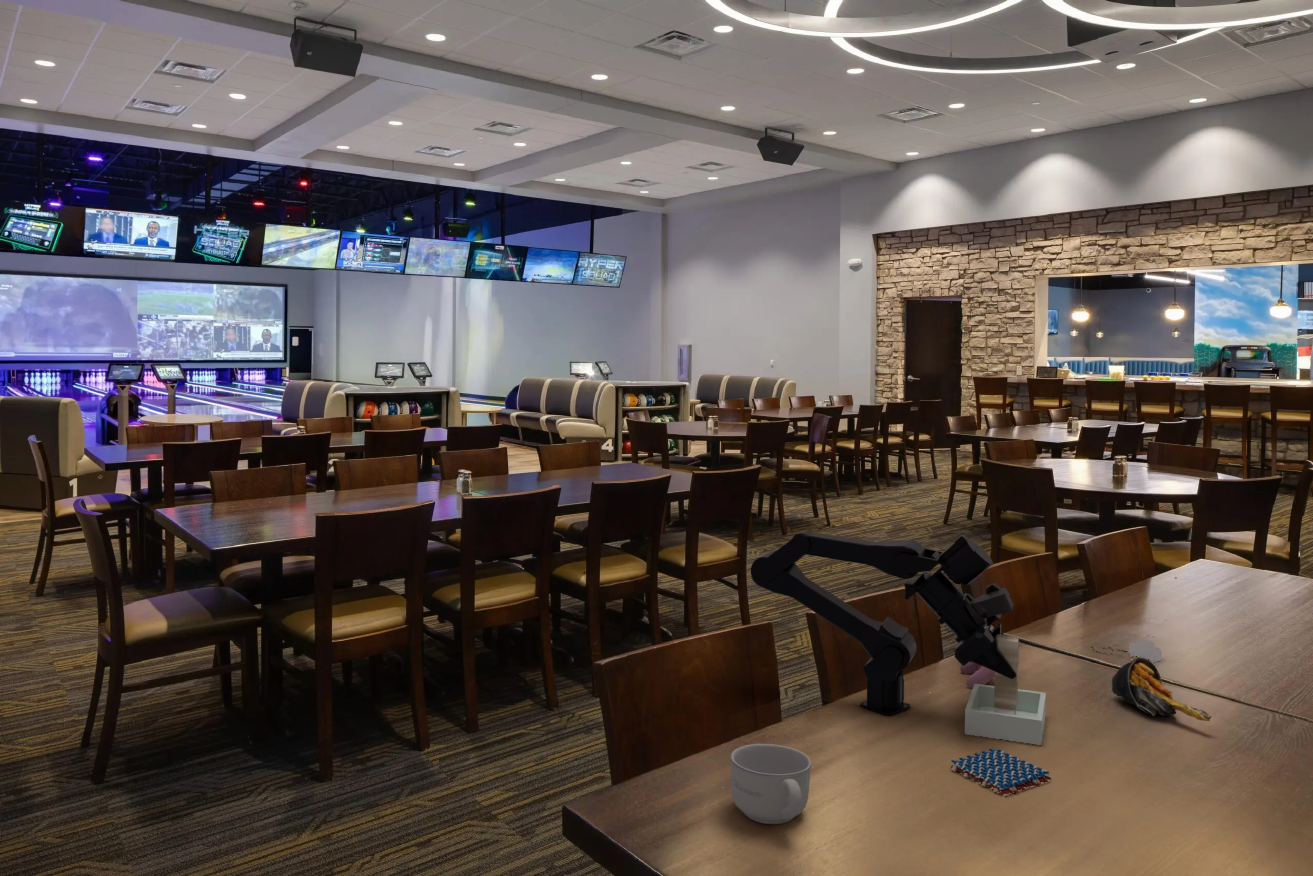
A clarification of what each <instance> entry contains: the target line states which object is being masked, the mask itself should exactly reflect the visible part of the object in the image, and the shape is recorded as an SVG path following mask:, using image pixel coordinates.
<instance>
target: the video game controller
mask: <svg viewBox="0 0 1313 876" xmlns="http://www.w3.org/2000/svg"><path fill="white" fill-rule="evenodd" d="M959 669H960V672H961V673H962V674H963V673H964V675H968V674H971V675H970V676H969V677H968V678H967V679H966V686H967V688H969V689H973V687H974V684H981V685H987V683H988V682H990V681H992V680H993V679H995V671H993V670H990V669H988V668H986V667H983V666H981V665H979V664H976V663H974V662H968V663H967V664H966V665H964V666H962V664H960V668H959Z"/></svg>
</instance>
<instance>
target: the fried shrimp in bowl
mask: <svg viewBox="0 0 1313 876" xmlns="http://www.w3.org/2000/svg"><path fill="white" fill-rule="evenodd" d="M1111 690H1112V691H1111V692H1112V693H1113V694H1115V696H1118V697H1121V698H1122V699H1123V700H1124V701H1125V702H1127V703H1129V704H1131V705H1133V706H1136V707H1137V708H1138V709H1140V710H1141V711H1143V712H1144V713H1146V714H1147V715H1150V716H1151V717H1155V716H1156V714H1157V715H1160V716H1166V717H1167V716H1172V715H1177V711H1179V712H1182V713H1183V714H1185V715H1187V716H1189V717H1192V718H1194V719H1196V720H1197V721H1203V722H1210V720H1211V718H1212V716H1211V715H1210V714H1209V713H1207V712H1206V711H1204V710H1203V709H1198V708H1195V707H1192V706H1190V705H1188V704H1186V703H1182V702H1179V701H1178V700H1174V699H1173V691H1171V690H1170V689H1168V688H1166V687H1165V686H1164V684H1163V681H1162V677H1161V675H1160V673H1159V670H1158V668H1157V667H1156V666H1155V664H1154V663H1153V662H1151V660H1148V659H1145V658H1141V657H1135V658H1134V659H1132V661H1130V662H1127V663H1126V664H1124V665H1122V666H1121V667H1120V668H1119V669H1118V670H1117V672H1116V673H1115V674H1114V675H1113V676H1112V678H1111Z"/></svg>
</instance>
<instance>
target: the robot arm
mask: <svg viewBox="0 0 1313 876" xmlns="http://www.w3.org/2000/svg"><path fill="white" fill-rule="evenodd" d="M805 555H806V556H813V557H819V558H820V557H821V558H824V559H825V558H826V559H830V560H831V559H832V560H836V561H843V562H848V563H855V564H860V565H867V566H869V567H872V568H874V569H876V570H878V571H880V572H882V573H885V574H887V575H890V576H893V577H895V578H899V579H903V580H906V581H905V582H904V584H903V586H904V590H905V591H904V599H905V600H907V601H908V600H910V599H911V597H913V596H915V594H917V595H918V596H919V598H920V599H921V600H922V601H923V603H925V604H926V605H927V606H928V607H929V608H930V609H931V610H932V612H934V614H935V615H936V616H937V617H938V619H937V622H938V623H939V624H940V625H941V626H942V625H944V624H945V626H946V627H948V630H950V631H951V632H952V633H953V634H954V635H955V638H954V639H955V641H956V642H957V644H956V646H955V648H954V658H955V659H956V660H957V661H958V662H959V664H960V665H962V666H964V665H966V664H967V663H968V662H974V663H976V664H979V665H981V666H983V667H986V668H988V669H990V670H993V671H995V672H997V673H999V674H1001V675H1004V676H1006V677H1008V678H1010V679H1013V678H1015V677H1016V676H1017V674H1016V673H1015V671H1014V670H1013V668H1012V667H1011V665H1010V664H1009V662H1008V661H1007V660H1006V658H1005V657H1004V655H1003V654H1002V653H1001V651H1000V650H999V648H998V635H997V634H1001V635H1002V623H999V624H997V625H996V626H995V627H994V626H993V625H992V624H993V623H994V622H995V621H997V622H999V621H1000V620H1001V618H1002V614H1003V615H1006V614H1008V613H1011V612H1012V611H1013V607H1015V606H1014V603H1013V601H1012V598H1011V597H1010V592H1009V591H1008V590H1007V588H1006V587H1002V588H1001V587H1000V586H999V585H998V584H997V583H994V582H993V583H991V584H988V585H987V586H986V588H985V589H986V590H985V594H984V593H983V594H981V595H980V596H977V597H976V598H974V597H973V596H972V595H971V594H970V593H967V592H965V593H963V592H962V591H961V590H960V589H959V588H958V587H957V585H959V586H960V585H961V584H963V585H964V586H968V585H970V584H971V583H972V582H974V581H975V580H976V579H977V578H978V577H980V576H981V575H982V574H983V573H985V571H986V570H988V569H989V568H990V567H992V566H993V564H994V563H993V559H992V558H991V556H990V555H989V554H988V553H987V552H986V550H985V549H984V548H983V547H982V546H981V545H978V544H977V543H976V542H974V540H972V539H969V538H968V536H966V535H965V534H962V535H961V534H960V536H959V537H958V538H957V539H956V540H955V542H953V544H951V545H950V546H949V547H948V548H947V549H946V550H945V551H939V550H936V549H931V548H927V547H923V546H922V544H921V543H920V542H918V541H917V540H913V539H891V540H882V541H871V540H864V539H859V538H854V537H853V538H851V537H846V536H839V535H833V534H826V533H819V532H815V531H812V530H809V529H804V530H802V531H800V532H798V533H795V534H794V535H793V537H792V538H791V539H790V540H789V541H788V542H786V543H785V544H784V545H782V546H781V547H779V548H778V549H777V550H771V551H769V552H766V553H765V554H763V555H761V556H760V557H757V558H756V559H754V561H753V562H752V564H751V565H750V566H751V567H750V575H751V579H752V582H753V583H754V584H756V585H757V586H758V587H759V588H763V589H764V590H767V591H770V592H771V593H775V594H778V595H781V596H784V597H785V596H786V597H789V598H792V599H793V600H795V601H797V602H798V603H800V604H801V605H803V606H805V607H806V608H808V609H809V610H810V611H812V612H814V613H815V614H817V615H818V616H820V617H821V618H823V619H824V620H826V621H828V622H829V623H830V624H832V625H834V626H835V627H836V628H838V629H840V630H841V631H843V632H844V633H846V634H848V635H849V636H850V637H853V638H854V639H855V640H856V641H858V642H859V643H860V644H861V645H862V647H863V648H864V649H865V651H866V652H867V654H868V655H869V657H870V658H869V659H868V660H867V662H866V663H865V664H864V666H863V671H864V674H865V677H866V700H864V701H861V702H859V706H860V707H862V708H865V709H868V710H870V711H874V712H876V713H879V714H881V715H884V716H893V715H894V714H897V713H900V712H902V711H905V710H908V709H911V704H910V703H908V702H904V701H905V679H904V671H903V670H905V669H906V668H907V667H908V666H909V664H910V663H911V661H912V659H913V658H914V656H915V655H916V653H917V643H916V640H915V637H914V636H913V635H912V634H911V633H910V632H908V631H909V630H910V629H909V627H907V626H906V627H905V626H903V625H901V624H899V623H897V621H895V620H894V619H893V618H891V617H890V616H887V617H886V619H884V621H883V622H881V621H878V620H875V619H872V618H871V617H868V615H866V614H865V613H863V612H861V611H860V610H858V609H856V608H854V607H853V606H851V605H850V604H848V603H847V602H845V601H844V600H842V599H841V598H839V597H838V596H837V595H834V594H833V593H831V592H830V591H828V590H827V589H825V588H823V587H822V586H820V585H819V584H817V583H816V582H814V581H812V580H811V579H809V578H808V577H807V576H806V575H805V574H804V573H803V571H802V570H801V569H800V568H799V566H798V564H796V563H797V562H798V561H800V560H801V559H802V558H803V557H804V556H805ZM938 565H940V566H939V567H938V568H936V566H938ZM935 568H936V570H934V569H935ZM932 570H934V571H933V572H932V573H929V572H931V571H932ZM919 573H921V574H920V575H919V576H918V577H917V578H915V579H914V580H913V581H911V580H909V579H912V578H913V577H915V576H917V575H918V574H919ZM955 584H956V585H955Z"/></svg>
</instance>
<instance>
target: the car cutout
mask: <svg viewBox="0 0 1313 876" xmlns="http://www.w3.org/2000/svg"><path fill="white" fill-rule="evenodd" d="M1128 647H1129V649H1128V650H1127V651H1128V652H1127V653H1129V659H1130V658H1133V657H1134V656H1137V657H1136V658H1138V657H1141V658H1145V659H1149V661H1152V660H1153V664H1155V663H1158V662H1159V661H1162V660H1163V657H1162V650H1161V649H1160V648H1159V647H1157V646H1156V645H1155V644H1154V642H1153V641H1151V640H1148V639H1144V638H1139V639H1137V640H1136V641H1135V642H1131V643H1130V644H1129V646H1128ZM1132 656H1133V657H1132Z"/></svg>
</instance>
